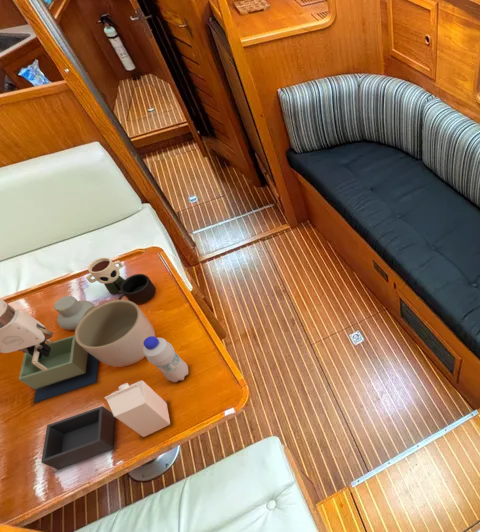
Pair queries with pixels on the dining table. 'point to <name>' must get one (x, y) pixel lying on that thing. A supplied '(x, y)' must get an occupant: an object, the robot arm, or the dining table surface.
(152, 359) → the bottle
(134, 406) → the milk carton
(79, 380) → the mat
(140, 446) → the dining table surface
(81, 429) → the box
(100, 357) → the planter
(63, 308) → the air freshener
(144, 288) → the mug
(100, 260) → the character mug
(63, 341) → the box
